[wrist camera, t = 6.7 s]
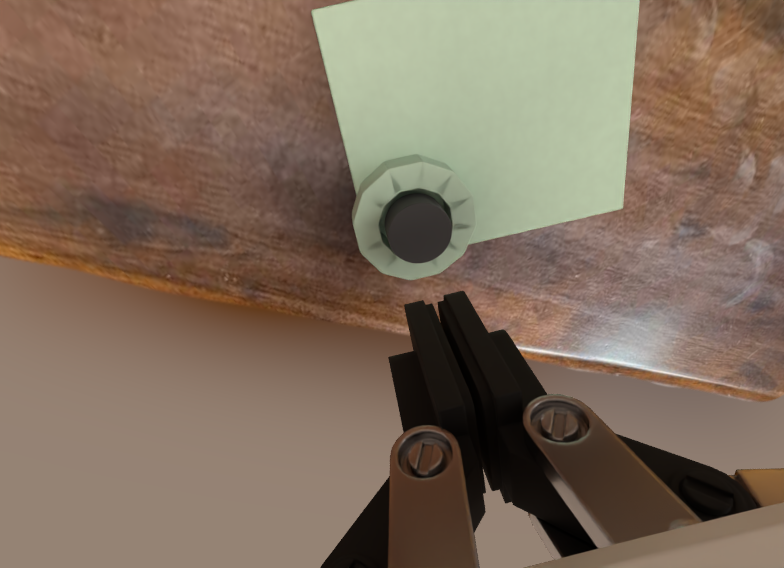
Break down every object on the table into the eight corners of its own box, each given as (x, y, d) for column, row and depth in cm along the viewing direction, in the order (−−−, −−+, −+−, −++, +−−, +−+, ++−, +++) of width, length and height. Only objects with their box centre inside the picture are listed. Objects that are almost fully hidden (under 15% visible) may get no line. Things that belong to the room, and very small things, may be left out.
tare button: (391, 256, 22) (394, 270, 20) (378, 200, 20) (381, 211, 19) (448, 243, 22) (456, 255, 20) (440, 186, 20) (447, 195, 19)
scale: (366, 264, 24) (369, 290, 22) (301, 14, 18) (296, 8, 16) (608, 208, 25) (641, 227, 22) (625, -59, 18) (673, -77, 16)
